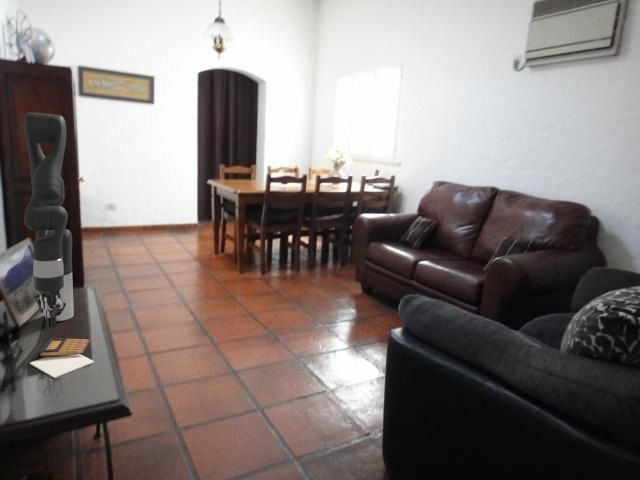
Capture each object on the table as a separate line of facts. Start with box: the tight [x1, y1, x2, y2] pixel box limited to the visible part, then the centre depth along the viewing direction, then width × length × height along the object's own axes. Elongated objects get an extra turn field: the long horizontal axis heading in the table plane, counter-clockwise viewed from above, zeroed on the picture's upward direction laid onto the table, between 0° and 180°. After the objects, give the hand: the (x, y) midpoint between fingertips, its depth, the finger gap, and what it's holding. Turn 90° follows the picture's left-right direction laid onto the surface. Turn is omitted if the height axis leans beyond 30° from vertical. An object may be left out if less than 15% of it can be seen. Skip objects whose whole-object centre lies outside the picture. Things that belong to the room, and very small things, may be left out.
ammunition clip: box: [39, 337, 91, 358], centre depth 141 cm, size 11×2×12 cm
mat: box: [29, 353, 95, 379], centre depth 134 cm, size 13×12×1 cm
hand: (51, 327), depth 134 cm, fingers closed
